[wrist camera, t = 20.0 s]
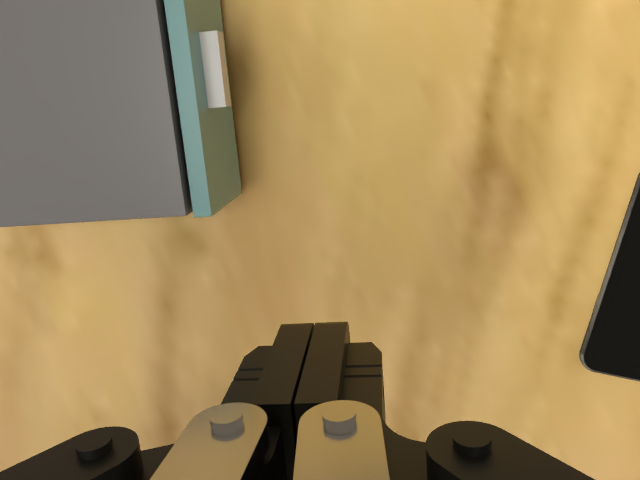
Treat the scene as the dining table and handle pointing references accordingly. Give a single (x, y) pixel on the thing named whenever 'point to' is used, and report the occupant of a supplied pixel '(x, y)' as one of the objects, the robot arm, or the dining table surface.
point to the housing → (88, 113)
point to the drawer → (204, 103)
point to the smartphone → (618, 305)
